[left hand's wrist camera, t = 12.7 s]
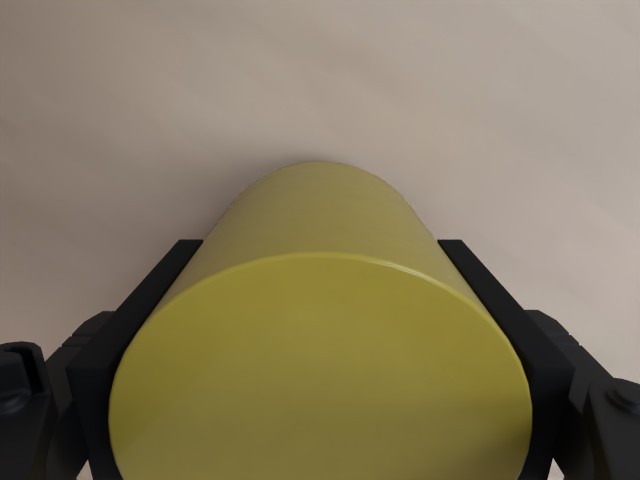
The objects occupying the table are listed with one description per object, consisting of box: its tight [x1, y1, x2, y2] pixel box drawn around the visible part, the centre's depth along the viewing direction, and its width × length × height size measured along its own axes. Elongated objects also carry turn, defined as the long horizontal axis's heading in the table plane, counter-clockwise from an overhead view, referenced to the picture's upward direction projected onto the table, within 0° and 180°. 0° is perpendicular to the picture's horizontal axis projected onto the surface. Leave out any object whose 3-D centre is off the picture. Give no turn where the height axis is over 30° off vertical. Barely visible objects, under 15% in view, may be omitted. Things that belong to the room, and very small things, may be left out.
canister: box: [108, 162, 532, 480], centre depth 11 cm, size 8×8×8 cm
